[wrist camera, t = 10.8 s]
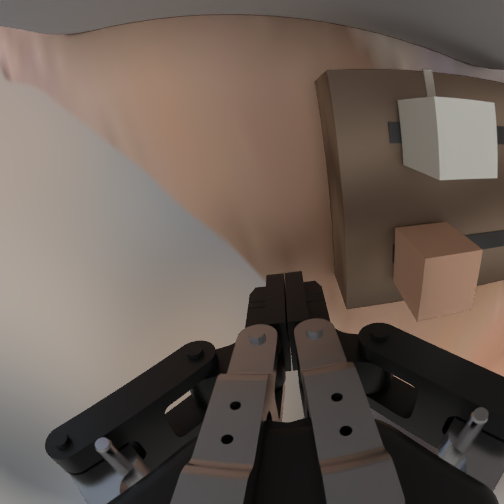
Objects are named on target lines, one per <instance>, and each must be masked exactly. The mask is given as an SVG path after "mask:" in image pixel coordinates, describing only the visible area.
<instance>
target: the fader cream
mask: <svg viewBox="0 0 504 504" xmlns="http://www.w3.org/2000/svg"><path fill="white" fill-rule="evenodd" d="M397 101H398V109H399V117H400V127H401V137H402V150H403V165H405V166H407V167H410V168H412V169H415V170H417V171H419V172H422V173H424V174H426V175H429V176H431V177H433V178H435V179H438V180H458V179H487V178H497V173H498V150H497V126H496V113H495V103H492V102H485V101H478V100H469V99H460V98H449V97H435V96H434V97H422V98H412V99H403V100H397Z"/></svg>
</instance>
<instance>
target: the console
mask: <svg viewBox="0 0 504 504" xmlns="http://www.w3.org/2000/svg"><path fill="white" fill-rule="evenodd" d="M422 70H423V71H412V70H391V69H347V70H327V71H326V72H324V73H323V74H322V75H321V76H320V77H319V78H318V79H317V80H316V81H315V85H316V91H317V97H318V103H319V110H320V117H321V124H322V131H323V139H324V147H325V155H326V164H327V173H328V183H329V193H330V204H331V217H332V231H333V246H334V266H335V276H336V279H337V282H338V285H339V288H340V291H341V294H342V297H343V300H344V303H345V306H346V309H352V308H359V307H365V306H372V305H379V304H385V303H391V302H397V301H403V300H404V299H403V297H402V295H401V294H400V292H399V291H398V289H397V287H396V286H395V284H394V283H393V275H394V254H395V228H396V227H405V226H414V225H423V224H432V223H441V222H447V223H448V224H450V225H451V226H452V227H454V228H455V229H457V230H458V231H459V232H461V233H462V234H463V235H465V236H466V237H467V238H469V239H470V240H471V241H472V242H474V243H475V244H476V245H478V246H479V247H480V248H481V249H483V252H482V258H481V264H480V270H479V276H478V281H477V286H479V285H484V284H488V283H492V282H497V281H501V280H504V83H501V82H496V81H491V80H486V79H480V78H474V77H468V76H461V75H454V74H446V73H437V72H432V70H429V69H422ZM434 96H435V97H449V98H460V99H469V100H478V101H485V102H492V103H495V113H496V126H497V150H498V173H497V178H487V179H458V180H438V179H435V178H433V177H431V176H429V175H426V174H424V173H422V172H419V171H417V170H415V169H412V168H410V167H407V166H405V165H403V150H402V137H401V127H400V117H399V109H398V101H397V100H403V99H412V98H422V97H434Z"/></svg>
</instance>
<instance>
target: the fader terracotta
mask: <svg viewBox="0 0 504 504" xmlns="http://www.w3.org/2000/svg"><path fill="white" fill-rule="evenodd" d="M482 252H483V249H481V248H480V247H479V246H478V245H476V244H475V243H474V242H472V241H471V240H470V239H469V238H467V237H466V236H465V235H463V234H462V233H461V232H459V231H458V230H457V229H455V228H454V227H452V226H451V225H450V224H448V223H447V222H441V223H432V224H423V225H414V226H405V227H396V228H395V254H394V275H393V283H394V284H395V286H396V287H397V289H398V291H399V292H400V294H401V295H402V297H403V299H404V300H405V302H406V304H407V305H408V307H409V309H410V310H411V312H412V314H413V315H414V317H415V319H416V320H417V321H422V320H427V319H432V318H436V317H441V316H446V315H450V314H454V313H458V312H463V311H467V310H471V308H472V304H473V300H474V295H475V291H476V286H477V281H478V276H479V270H480V264H481V258H482Z"/></svg>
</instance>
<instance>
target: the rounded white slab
mask: <svg viewBox="0 0 504 504" xmlns="http://www.w3.org/2000/svg"><path fill="white" fill-rule="evenodd" d="M213 14H246V15H268V16H281V17H292V18H301V19H308V20H316V21H322V22H328V23H334V24H340V25H345V26H350V27H355V28H359V29H363V30H368V31H372V32H376V33H380V34H383V35H387V36H391V37H394V38H398V39H401V40H404V41H407V42H411V43H414V44H417V45H420V46H422V47H425V48H428V49H431V50H434V51H436V52H439V53H441V54H444V55H446V56H449V57H451V58H454V59H457V60H460V61H463V62H465V63H468V64H471V65H475V66H480V67H484V68H489V69H501V70H504V0H0V26H4V27H10V28H16V29H22V30H27V31H32V32H37V33H43V34H54V35H59V34H75V33H81V32H87V31H93V30H97V29H101V28H106V27H110V26H115V25H120V24H126V23H131V22H137V21H144V20H151V19H159V18H168V17H178V16H191V15H213Z"/></svg>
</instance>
